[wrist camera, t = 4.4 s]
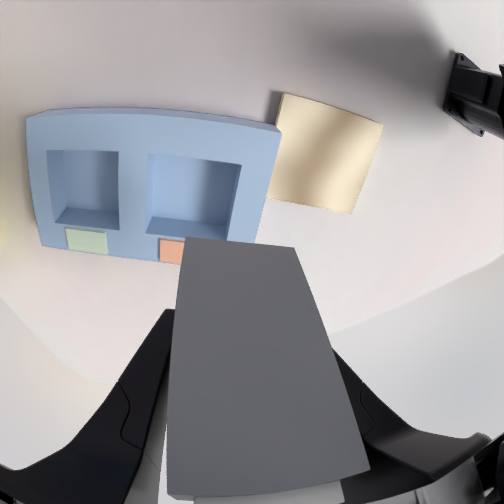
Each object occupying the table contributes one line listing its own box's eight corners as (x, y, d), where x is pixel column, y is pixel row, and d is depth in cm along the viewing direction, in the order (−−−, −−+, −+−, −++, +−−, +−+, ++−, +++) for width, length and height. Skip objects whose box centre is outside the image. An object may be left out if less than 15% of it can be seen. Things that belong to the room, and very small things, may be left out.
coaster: (378, 123, 18) (383, 125, 18) (347, 209, 23) (351, 214, 22) (282, 92, 17) (284, 93, 16) (257, 192, 21) (258, 197, 21)
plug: (294, 247, 10) (376, 491, 3) (268, 318, 13) (306, 506, 6) (185, 236, 10) (168, 522, 3) (181, 312, 12) (177, 515, 5)
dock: (274, 125, 18) (283, 134, 16) (243, 251, 24) (246, 276, 22) (47, 110, 15) (23, 119, 12) (56, 229, 21) (41, 249, 18)
